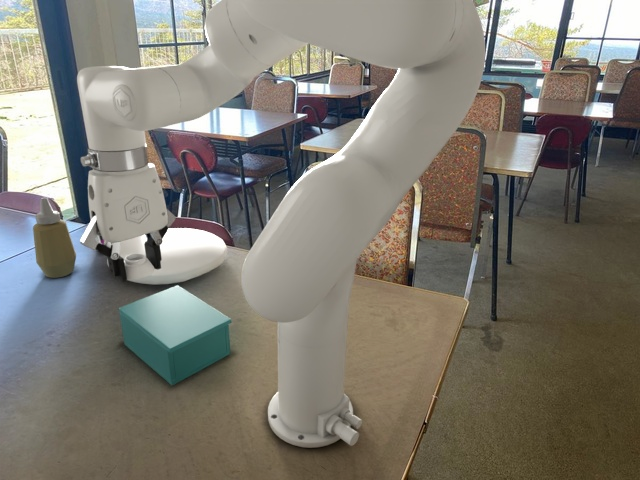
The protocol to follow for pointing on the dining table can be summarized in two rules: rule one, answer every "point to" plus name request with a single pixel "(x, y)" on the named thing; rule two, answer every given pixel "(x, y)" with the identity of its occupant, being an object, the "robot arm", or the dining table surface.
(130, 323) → the box
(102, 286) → the dining table surface
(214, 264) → the plate
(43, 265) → the squeeze bottle
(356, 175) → the robot arm
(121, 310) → the lunchbox lid
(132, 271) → the white jar
